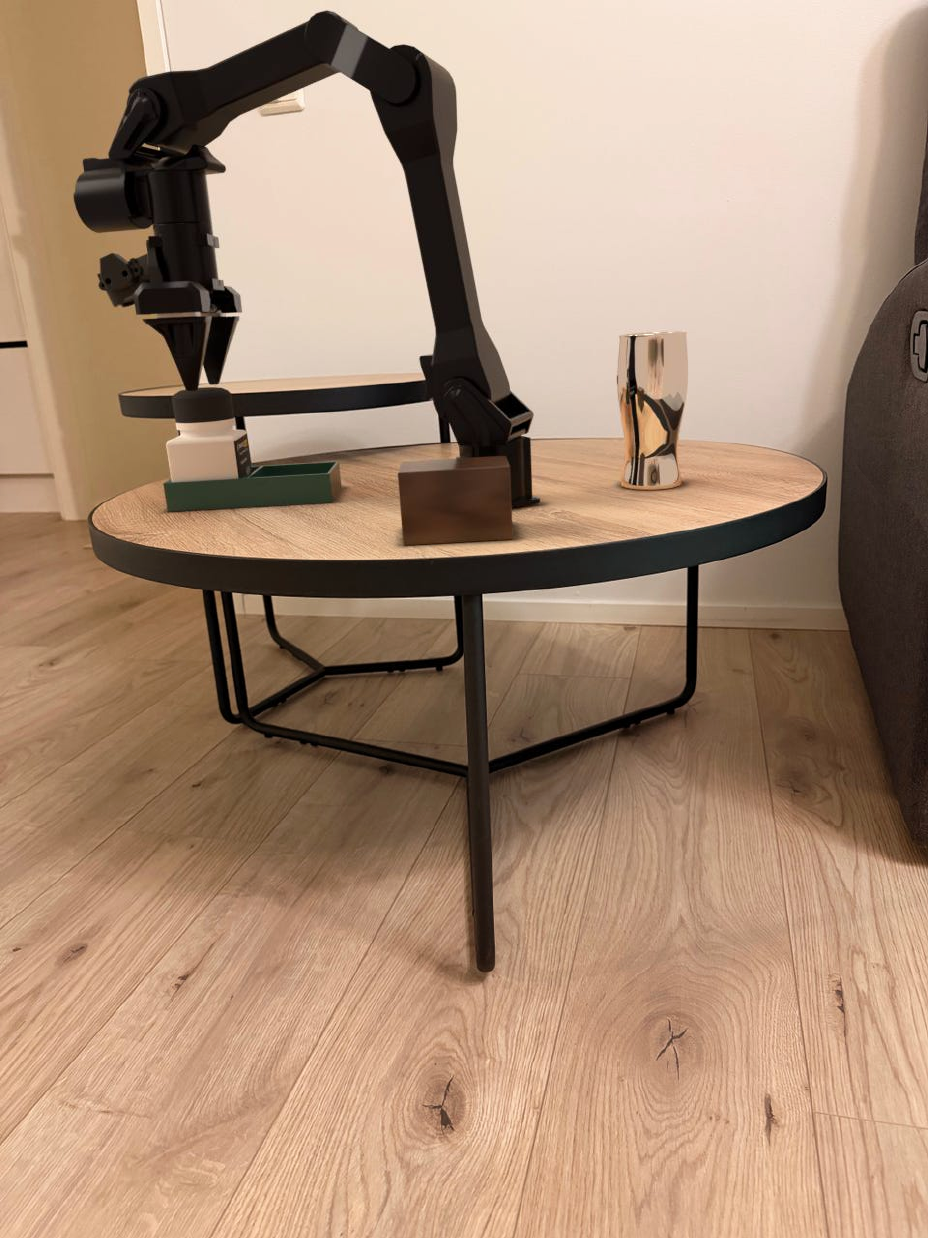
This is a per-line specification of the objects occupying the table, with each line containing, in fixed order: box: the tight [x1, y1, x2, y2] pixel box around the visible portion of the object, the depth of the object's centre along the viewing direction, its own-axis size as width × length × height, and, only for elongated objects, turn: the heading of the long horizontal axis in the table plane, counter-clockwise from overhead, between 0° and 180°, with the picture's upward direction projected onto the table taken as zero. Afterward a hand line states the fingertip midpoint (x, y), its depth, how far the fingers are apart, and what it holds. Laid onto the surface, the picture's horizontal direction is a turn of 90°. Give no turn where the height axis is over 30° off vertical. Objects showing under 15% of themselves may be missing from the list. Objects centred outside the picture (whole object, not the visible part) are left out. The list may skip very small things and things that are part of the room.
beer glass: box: [616, 330, 689, 491], centre depth 93 cm, size 7×7×15 cm
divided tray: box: [163, 461, 342, 513], centre depth 99 cm, size 17×9×3 cm, turn 91°
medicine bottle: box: [165, 386, 252, 482], centre depth 98 cm, size 7×7×12 cm
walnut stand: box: [397, 456, 514, 546], centre depth 77 cm, size 9×6×6 cm, turn 91°
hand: (203, 387), depth 96 cm, fingers open, 9 cm apart
